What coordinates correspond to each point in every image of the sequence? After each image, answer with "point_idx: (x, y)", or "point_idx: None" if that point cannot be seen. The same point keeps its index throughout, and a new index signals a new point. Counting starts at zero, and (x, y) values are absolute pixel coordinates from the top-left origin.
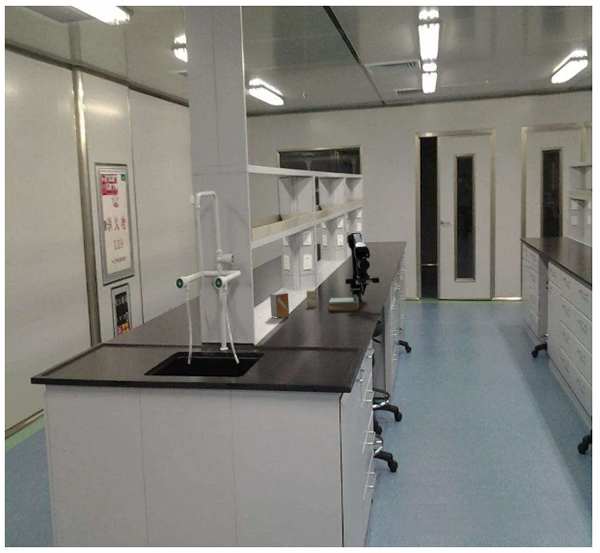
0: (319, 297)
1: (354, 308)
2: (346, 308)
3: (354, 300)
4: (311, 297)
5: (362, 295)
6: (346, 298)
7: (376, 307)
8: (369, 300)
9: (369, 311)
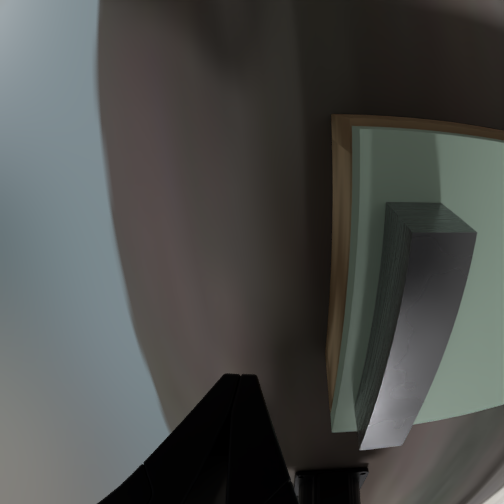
0: (476, 490)
1: (384, 116)
2: (485, 128)
3: (424, 203)
4: None
5: (253, 374)
6: (487, 380)
7: (128, 282)
8: None
9: (163, 55)
